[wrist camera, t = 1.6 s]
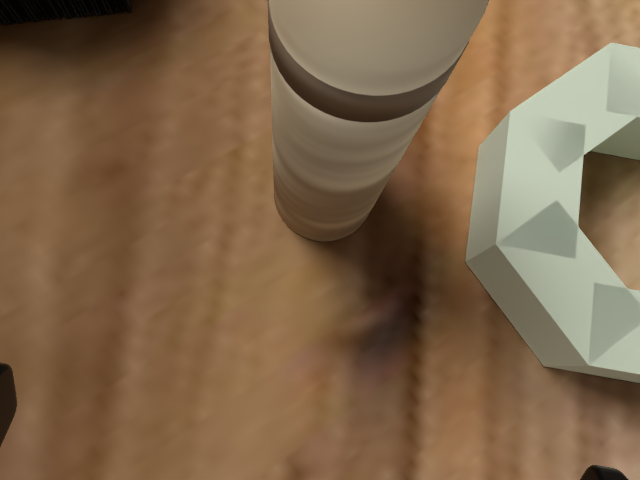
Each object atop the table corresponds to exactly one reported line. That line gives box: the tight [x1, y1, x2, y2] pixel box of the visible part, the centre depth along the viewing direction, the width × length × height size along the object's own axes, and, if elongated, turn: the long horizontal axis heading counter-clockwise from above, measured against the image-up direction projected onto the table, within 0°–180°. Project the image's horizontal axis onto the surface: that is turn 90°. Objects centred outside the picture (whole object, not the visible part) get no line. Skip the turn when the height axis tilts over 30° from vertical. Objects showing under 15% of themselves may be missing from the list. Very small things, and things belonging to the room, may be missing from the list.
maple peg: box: [268, 0, 489, 241], centre depth 18 cm, size 4×4×14 cm
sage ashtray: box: [465, 43, 640, 383], centre depth 23 cm, size 12×12×4 cm
